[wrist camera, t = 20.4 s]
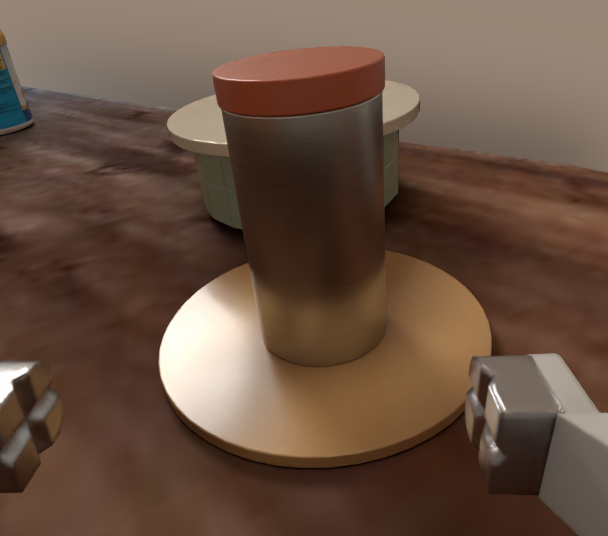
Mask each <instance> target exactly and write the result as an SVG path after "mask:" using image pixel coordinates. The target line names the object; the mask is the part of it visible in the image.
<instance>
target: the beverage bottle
mask: <svg viewBox="0 0 608 536" xmlns="http://www.w3.org/2000/svg"><path fill="white" fill-rule="evenodd" d="M32 122H33V117H32V114H31V111H30V109H29V107H28V104H27V101H26V99H25V96H24V93H23V90H22V88H21V85H20V82H19V79H18V76H17V74H16V71H15V68H14V65H13V62H12V60H11V57H10V54H9V52H8V48H7V42H6V39H5V36H4V34H3V33H2V32H1V30H0V135H4V134H8V133H12V132H15V131H18V130H21V129H24V128H26V127H28V126H30V125H31V124H32Z"/></svg>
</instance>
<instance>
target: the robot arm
mask: <svg viewBox="0 0 608 536" xmlns="http://www.w3.org/2000/svg"><path fill="white" fill-rule="evenodd" d="M468 375H469V377H470V380H471V383H472V385H473V387H472V388H471V389H470V390H469V391H468V392H467V393H466V399H465V422H466V427H467V432H468V436H469V439H470V442H471V444H472V445H473V446H474V447H476V448H477V449H478V450H479V456H478V466H479V469H480V472H481V475H482V478H483V481H484V484H485V487H486V489H487V492H488V494H512V495H539V497H538V498H539V499H540V500H541V501H542V502H543V503H544V504H545V505H546V506H548V507H549V508H550V509H551V510H552V511H553V512H554V513H555V514H556V515H557V516H558V517H559V518H560V519H561V520H562V521H563V522H564V523H565V524H566V525H567V526H568V527H569V528H571V529H572V530H573V531H574V532H575V533H576V534H577V535H578V536H608V413H600V412H599V411H598V410H597V408H596V407H595V405H594V404H593V402H592V401H591V399H590V398H589V397H588V395H587V394H586V392H585V391H584V389H583V388H582V386H581V385H580V384H579V382H578V381H577V379H576V378H575V376H574V375H573V374H572V372H571V371H570V369H569V368H568V366H567V365H566V363H565V362H564V361H563V359H562V358H561V356H559V355H558V354H556V353H549V354H528V355H514V356H472V359H471V361H470V365H469V373H468ZM53 379H54V378H53V375H52V373H51V370H50V368H49V365H48V364H46V363H44V362H42V361H0V493H20V492H23V491H24V489H25V487H26V486H27V484H28V483H29V481H30V480H31V478H32V476H33V475H34V473H35V472H36V470H37V469H38V467H39V466H40V464H41V462H40V458H39V454H40V453H41V452H43V451H44V450H46V449H47V448H49V447H50V446H52V445H53V443H54V442H55V440H56V438H57V437H58V435H59V433H60V430H61V425H62V421H63V406H62V403H61V400H60V397H59V396H58V395H57V394H56V393H55V392H54V391H53V390H51V389H50V388H49V386H50V384H51V382H52V380H53Z"/></svg>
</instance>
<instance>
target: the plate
mask: <svg viewBox="0 0 608 536" xmlns="http://www.w3.org/2000/svg"><path fill="white" fill-rule="evenodd" d="M382 100H383V136H385V135H388V134H390V133H393V132H395V131H397V130H399V129H401V128H403V127H405V126H406V125H407V124H409V123H410V122H412V121H413V120H414V119H415V118H416V117H417V115H418V113H419V111H420V96H419V94H418V92H417V91H415V90H414V89H413V88H411V87H409V86H407V85H404V84H401V83H396V82H393V81H387V80H385V88H384V90H383V91H382ZM167 129H168V134H169V137H170V139H171V141H172V142H173V143H174V144H175V145H177V146H179V147H181V148H183V149H185V150H188V151H191V152H195V153H200V154H205V155H212V156H221V157H230V156H229V150H228V145H227V139H226V134H225V128H224V122H223V117H222V111H221V108H220V107H219V106H218V104H217V99H216V95H213V96H209V97H206V98H203V99H201V100H198V101H196V102H193V103H191V104H189V105H187V106H185V107H183V108H181V109H179V110H178V111H176V112H175V113H174V114H173V115H172V116H171V117H170V118H169V119H168V121H167Z"/></svg>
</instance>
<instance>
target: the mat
mask: <svg viewBox="0 0 608 536" xmlns="http://www.w3.org/2000/svg"><path fill="white" fill-rule="evenodd" d="M385 257H386V309H387V326H386V331H385V334H384V335H383V337H382V339H381V341H380V342H379V343H378V344H377V345H376V346H375V347H374V348H373V349H372V350H371V351H369V352H368V353H366V354H365V355H363V356H361V357H359V358H357V359H354V360H352V361H349V362H346V363H342V364H337V365H331V366H305V365H299V364H295V363H291V362H289V361H286V360H284V359H282V358H280V357H278V356H276V355H275V354H274V353H272V352H271V351H270V350H269V349H268V348H267V346H266V345H265V343H264V342H263V339H262V336H261V331H260V325H259V320H258V314H257V308H256V303H255V297H254V292H253V286H252V280H251V275H250V269H249V263H247V264H244V265H242V266H239V267H237V268H235V269H233V270H231V271H229V272H227V273H225V274H223V275H221V276H219V277H218V278H216V279H214V280H213V281H211V282H210V283H208V284H207V285H205V286H204V287H203V288H201V289H200V290H199V291H197V292H196V293H195V294H194V295H193V296H192V297H191V298H190V299H188V300H187V301H186V302H185V303H184V305H183V306H182V307H181V308H180V309H179V310H178V311H177V313H176V314H175V316H174V317H173V319H172V320H171V322H170V323H169V325H168V327H167V329H166V331H165V333H164V336H163V338H162V342H161V346H160V350H159V363H158V367H159V373H160V379H161V383H162V386H163V389H164V391H165V394H166V396H167V399H168V401H169V403H170V405H171V406H172V408H173V409H174V411H175V412H176V414H177V416H178V417H179V418H180V419H181V420H182V421H183V422H184V423H185V424H186V425H187V426H188V427H189V428H190V429H191V430H192V431H194V432H195V433H196V434H198V435H199V436H200V437H202V438H203V439H205V440H206V441H207V442H209V443H211V444H213V445H215V446H217V447H219V448H221V449H223V450H225V451H226V452H229V453H232V454H235V455H237V456H240V457H243V458H246V459H249V460H252V461H257V462H262V463H266V464H271V465H276V466H286V467H297V468H332V467H339V466H347V465H355V464H361V463H365V462H369V461H373V460H377V459H381V458H385V457H388V456H391V455H394V454H396V453H399V452H402V451H404V450H407V449H410V448H412V447H414V446H416V445H418V444H420V443H421V442H423V441H425V440H427V439H429V438H431V437H433V436H434V435H436V434H437V433H439V432H440V431H441V430H443V429H444V428H446V427H447V426H449V425H450V424H451V423H453V422H454V421H455V420H456V419H457V418H458V417H459V416H460V415H461V414H462V413H463V412H464V411H465V399H466V393H467V392H468V391H469V390H470V389H471V388H472V387H473V385H472V383H471V380H470V377H469V375H468V373H469V365H470V361H471V359H472V356H491V354H492V335H491V330H490V325H489V322H488V320H487V317H486V315H485V312H484V310H483V308H482V307H481V305H480V304H479V302H478V301H477V299H476V298H475V297H474V296H473V295H472V293H471V292H470V291H469V290H468V289H467V288H466V287H465V286H464V285H462V284H461V283H460V282H459V281H458V280H456V279H455V278H454V277H452V276H451V275H449V274H447V273H446V272H444V271H443V270H441V269H439V268H437V267H435V266H433V265H431V264H429V263H427V262H424V261H421V260H419V259H416V258H414V257H410V256H407V255H403V254H400V253H396V252H391V251H387V250H385Z"/></svg>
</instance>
